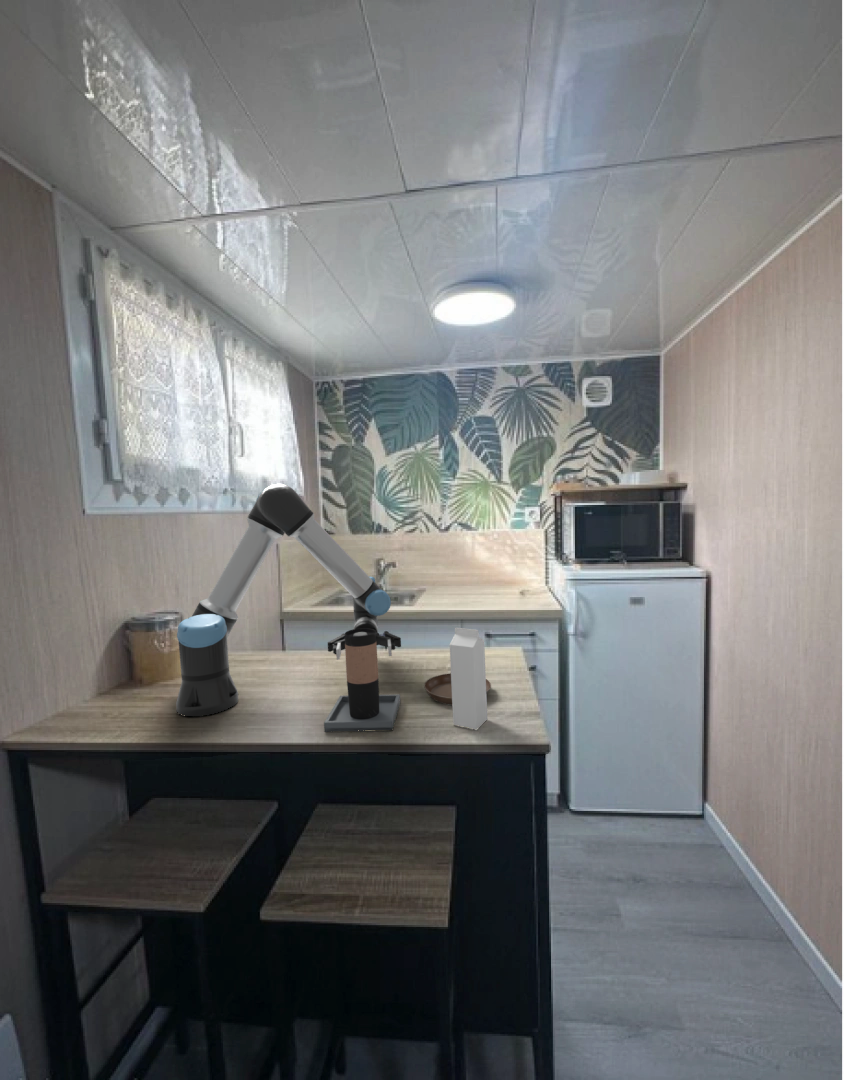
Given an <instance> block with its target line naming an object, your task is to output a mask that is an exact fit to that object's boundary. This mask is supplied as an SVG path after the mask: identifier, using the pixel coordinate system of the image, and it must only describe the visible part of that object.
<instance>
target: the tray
mask: <svg viewBox="0 0 844 1080" xmlns="http://www.w3.org/2000/svg"><path fill="white" fill-rule="evenodd" d="M400 706H401V694H400V693H399V694H379V714H378V715H377V716H375V717H373V718H369V719H355V718H352V717H351V716H350V710H349V699H348V695H339V697H338V698H337V700H336V702H335V703H334V706H333V707H332V708H331V710H330V712H329V713H328V715H327V717H326V719H325V720H324V722H323V728H324V729H323V730H324V732H325V733H334V732H333V731H355V732H366V731H365V730H392V729H393V730H394V727H393V726H395V724H396V723H395V722H396V720H397V716H398V713H397V712H399V709H400ZM395 719H396V720H395ZM394 723H395V724H394ZM358 730H359V731H358ZM363 730H364V731H363ZM331 731H332V732H331Z"/></svg>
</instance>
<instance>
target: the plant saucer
mask: <svg viewBox="0 0 844 1080" xmlns="http://www.w3.org/2000/svg"><path fill="white" fill-rule="evenodd" d="M423 687H424V689H425V691H426V693H427V694H428V695H429V696H430V698H432V699H433V700H434V701H436V702H438V703H441V704H444V705H448V704H449V706H452V686H451V672H450V673H443V674H438V675H435V676H433V677H430V678H429V679H427V680H426V681H425V682H424V685H423ZM491 687H492V684H491V682H490V680H488V679H487V678H486V695H487V694H488V693H489V691H490V690H491Z"/></svg>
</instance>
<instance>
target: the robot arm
mask: <svg viewBox="0 0 844 1080" xmlns="http://www.w3.org/2000/svg"><path fill="white" fill-rule="evenodd" d="M246 520H247V523H248V526H247V528H246V530H245V532H244V533H243V536H242V537H241V539H240V541H239V542H238V545H237V546H236V548H235V550H234V551H233V553H232V554H231V557H230V559H228V562H227V564H226V566H225V568H224V570H223V571H222V572H221V574H220V576H219V578H218V580H217V581H216V584H215V585H214V587H213V589H212V591H211V592H210V593H209V596H208V597H207V598H205V599H202V600H200V601H199V603H198V605H196V608H195V609H194V612H193V613H192V614H191V616H190V617H188V618H185V619H183V620H182V621H181V622H179V624H178V625H177V632H176V638H177V640H178V641H177V642H178V652H179V661H180V662H179V664H180V674H181V675H180V677H181V682H180V686H179V691H178V695H177V699H176V702H175V703H176V704H175V706H176V707H175V709H176V713H177V712H178V713H179V714H182V715H185V716H200V717H203V716H202V715H207V716H210V715H209V714H212V715H215V714H214V713H216V714H219V713H221V711H222V712H224V710H225V711H227V710H229V709H231V708H232V706H233V707H234V706H235V705H237V704H238V702H239V691H238V689H237V687H236V685H235V682H234V679H233V677H232V675H231V673H230V664H229V663H230V662H229V661H230V659H229V649H228V637H229V636H230V633H231V632H232V630H233V628H234V627H235V624H236V622H237V621H238V618H239V616H238V613H237V611H238V609H239V606H240V604H241V602H242V600H243V599H244V597H245V595H246V593H247V592H248V590H249V589H250V587H251V584H252V583H253V581H254V579H255V577H256V575H257V574H258V572H259V569H260V568H261V567H262V565H263V562H264V560H266V557H267V555H268V553H269V552H270V550H271V548H272V546H273V544H274V543H275V540H277V539H280V538H282V537H283V536H284V535H285V534H286V536H287V537H288V538H294V539H295V540H296V541H297V542H298V543H299V544H300V545H301V546H302V547H303V548H304V549H305V550H306V551H307V552H308V553H309V554H311V556H312V557H313V558H314V559H315V560H316V561H317V562H318V563H319V564H320V565H321V566H322V567H323V568H324V569H325V570H326V571H327V573H329V574H330V575H331V576H332V577H333V578H334V579H335V580H336V581H337V582H338V584H340V585H341V586H342V587H343V588H344V590H346V591H347V593H349V595H351V596H352V603H353V604H352V605H353V629H360V628H369V629H374V630H375V631H376V644H377V646H382V647H385V648H387V650H388V651H387V652H388V657H392V656H393V655H392V651H395V650H396V647H397V648H401V647H402V638H401V637H400V636H397V635H395V634H393V633H390V632H389V630H388V631H387V630H385V631H383V632H382V633H381V634H380V633H379V631H378V630H379V629H378V625H379V624H378V617H381V616H383V615H385V614H387V613H388V612H389V610H390V608H391V606H392V605H391V604H392V600H391V597H390V595H389V594H388V593H387V591H385V590H383V589H382V588H381V587H380V586H379V585H378V584H377V582H376V579H375V577H374V576H369V575H368V573H367V572H366V571H364V569H362V568H361V567H360V565H359V564H358V563H357V562H356V561H355V560H354V559H353V557H351V556H350V555H349V554H348V553H347V552H346V550H344V548H342V547H341V545H340V544H339V543H337V541H336V540H335V539H334V538H333V537H332V536H331V535H330V534H329V533H328V532H327V531H326V530H325V529H324V528H323V526H322V525H321V524H320V523H319V522H318V521H317V520H316V519H315V513H314V511H312V510H311V508H309V506H308V505H307V504H306V503H305V501H304V500H303V498H301V496H300V495H299V494H298V493H297V491H296V490H295V489H293V488H292V487H291V486H288V485H286V484H283V483H277V484H275V483H274V484H271V485H270V486H268V487H266V488H264V489H263V490H262V491H261V492H260V493H259V494H258V496H257V498H256V501H255V503H254V504H253V506H252V508H251V510H250V512H249V514H248V515H247V517H246ZM343 650H345V633H341V634H340V635H339V636H337V637H336V638H333V639H331V640H329V641H328V642H327V651H328V652H332V653H333V654H334V655H336V660H341V655H342V651H343ZM230 707H231V708H230ZM228 708H229V709H228ZM218 712H219V713H218ZM178 713H177V714H178ZM179 714H178V715H179ZM185 716H184V717H185Z"/></svg>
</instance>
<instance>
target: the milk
mask: <svg viewBox="0 0 844 1080" xmlns="http://www.w3.org/2000/svg"><path fill="white" fill-rule="evenodd" d="M485 647H486V646H485V640H484V639H483V638H482V637H480V633H479V630H478V629H473V628H463V627H462V628H461V627H455V628H454V635H453V637H452V639H451V641H450V643H449V658H450V659H449V661H450V673H451V686H452V705H451V706H452V724H454V725H459V726H464V727H469V728H473V729H477V728H479V727H480V726H481V725H482V724H483V723H484V722H485V721H486V720H487V721H488V704H487V701H488V700H487V694H486V679H487V677H486V675H487V674H486V655H485V654H486V653H485ZM487 721H486V722H487ZM486 722H485V723H486ZM485 723H484V724H485ZM484 724H483V725H484ZM454 725H453V726H454ZM483 725H482V726H483ZM459 726H458V727H459ZM482 726H481V727H482ZM481 727H480V728H481ZM480 728H479V729H480ZM473 729H472V730H473Z"/></svg>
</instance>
